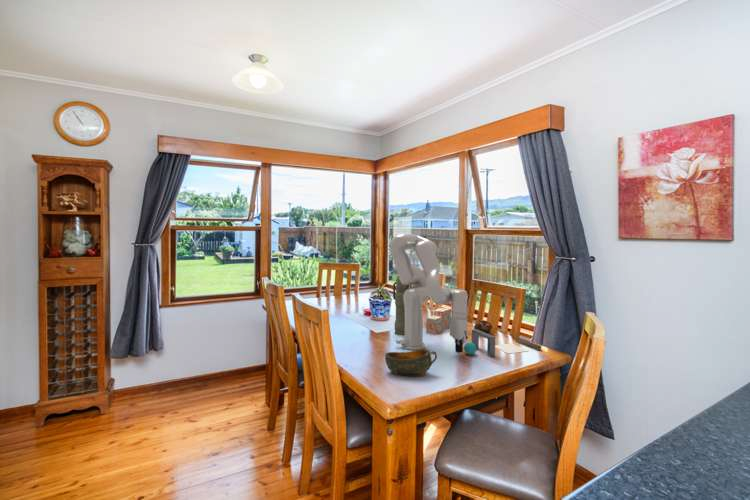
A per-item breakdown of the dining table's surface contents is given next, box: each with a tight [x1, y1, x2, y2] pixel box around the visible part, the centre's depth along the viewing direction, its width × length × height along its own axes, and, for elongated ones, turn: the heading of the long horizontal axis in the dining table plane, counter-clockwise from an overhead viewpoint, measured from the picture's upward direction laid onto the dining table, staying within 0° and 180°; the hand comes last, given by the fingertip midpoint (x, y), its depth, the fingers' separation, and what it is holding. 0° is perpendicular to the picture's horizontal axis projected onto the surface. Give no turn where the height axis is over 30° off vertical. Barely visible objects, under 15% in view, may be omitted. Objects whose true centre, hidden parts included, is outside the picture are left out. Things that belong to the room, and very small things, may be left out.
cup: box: [384, 348, 438, 378], centre depth 158 cm, size 13×20×10 cm, turn 56°
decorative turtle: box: [473, 320, 493, 334], centre depth 220 cm, size 10×15×8 cm, turn 139°
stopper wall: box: [515, 336, 542, 352], centre depth 197 cm, size 2×16×2 cm, turn 21°
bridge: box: [471, 328, 496, 358], centre depth 187 cm, size 3×15×10 cm, turn 20°
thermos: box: [392, 274, 412, 336], centre depth 220 cm, size 9×12×35 cm
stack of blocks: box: [425, 307, 451, 335], centre depth 228 cm, size 21×6×12 cm, turn 144°
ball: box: [463, 341, 477, 356], centre depth 183 cm, size 6×6×6 cm
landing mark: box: [495, 343, 529, 355], centre depth 193 cm, size 13×13×1 cm
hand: (459, 351), depth 181 cm, fingers closed
